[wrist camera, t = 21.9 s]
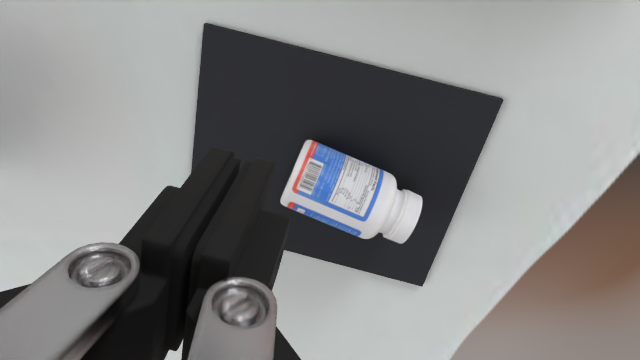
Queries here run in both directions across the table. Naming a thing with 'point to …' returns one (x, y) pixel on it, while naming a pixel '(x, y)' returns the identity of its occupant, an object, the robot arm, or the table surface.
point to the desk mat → (342, 137)
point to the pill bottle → (350, 195)
